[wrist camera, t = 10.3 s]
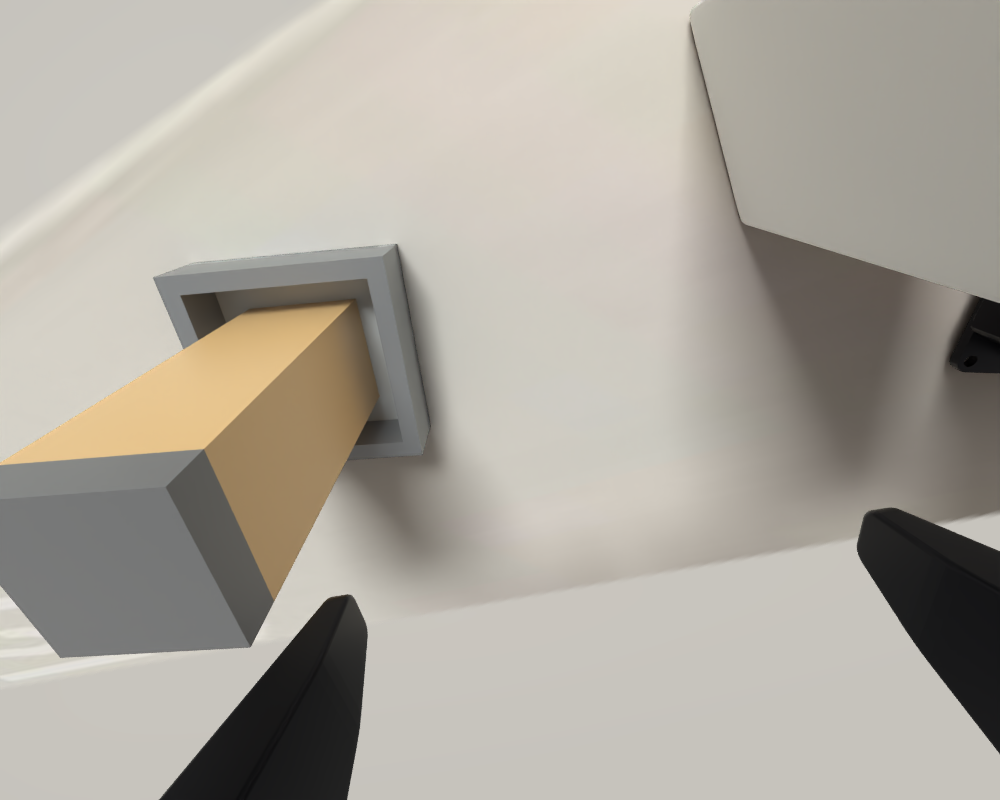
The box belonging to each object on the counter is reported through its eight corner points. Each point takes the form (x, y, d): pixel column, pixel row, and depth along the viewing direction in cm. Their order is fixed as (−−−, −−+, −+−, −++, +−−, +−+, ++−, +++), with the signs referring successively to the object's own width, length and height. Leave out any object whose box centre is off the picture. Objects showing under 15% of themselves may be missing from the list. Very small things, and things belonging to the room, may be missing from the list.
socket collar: (396, 243, 18) (382, 256, 16) (430, 425, 22) (422, 454, 20) (192, 263, 19) (152, 277, 17) (259, 438, 23) (234, 468, 20)
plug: (355, 298, 19) (165, 486, 8) (379, 396, 21) (250, 647, 10) (249, 308, 19) (-67, 504, 9) (283, 404, 21) (60, 657, 11)
